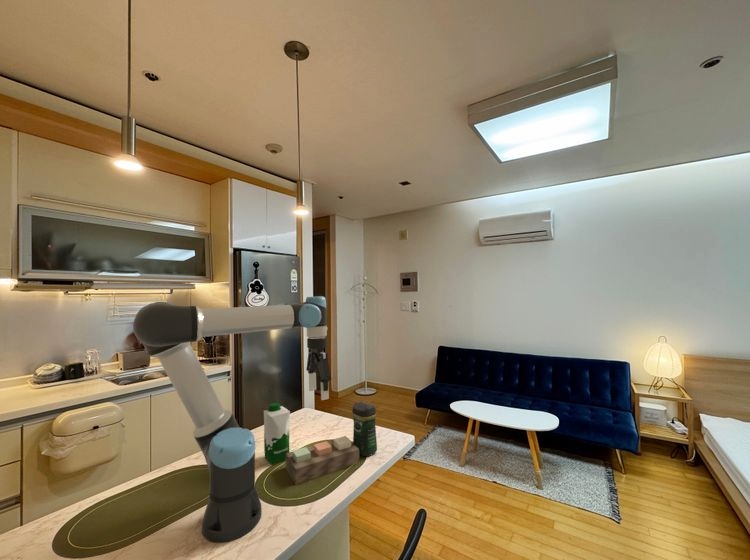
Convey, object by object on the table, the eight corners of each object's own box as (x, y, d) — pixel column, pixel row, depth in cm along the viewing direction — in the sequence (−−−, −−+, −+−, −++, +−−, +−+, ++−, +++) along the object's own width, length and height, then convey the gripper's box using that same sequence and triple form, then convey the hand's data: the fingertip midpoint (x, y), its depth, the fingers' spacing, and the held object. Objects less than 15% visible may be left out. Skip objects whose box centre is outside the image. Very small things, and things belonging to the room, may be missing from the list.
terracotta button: (318, 460, 112) (318, 450, 112) (313, 454, 116) (313, 444, 117) (331, 456, 115) (331, 446, 115) (326, 450, 119) (326, 441, 119)
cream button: (339, 454, 116) (339, 444, 116) (333, 448, 121) (333, 439, 121) (351, 450, 119) (351, 440, 119) (345, 444, 123) (345, 435, 123)
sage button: (296, 467, 108) (296, 456, 108) (292, 460, 112) (292, 450, 112) (310, 462, 111) (310, 452, 111) (306, 456, 115) (305, 446, 115)
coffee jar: (380, 451, 124) (379, 404, 125) (365, 459, 119) (364, 409, 120) (364, 443, 131) (363, 398, 132) (349, 450, 126) (349, 403, 127)
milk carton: (283, 450, 127) (282, 400, 128) (293, 459, 120) (292, 406, 121) (261, 457, 121) (261, 405, 122) (270, 467, 114) (270, 411, 115)
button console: (295, 484, 104) (295, 468, 104) (285, 467, 114) (285, 453, 114) (359, 462, 117) (359, 449, 117) (345, 449, 127) (345, 436, 127)
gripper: (339, 339, 111) (341, 401, 110) (315, 332, 132) (316, 384, 131) (319, 342, 107) (321, 406, 106) (297, 334, 128) (298, 388, 127)
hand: (318, 394), depth 119 cm, fingers open, 12 cm apart
